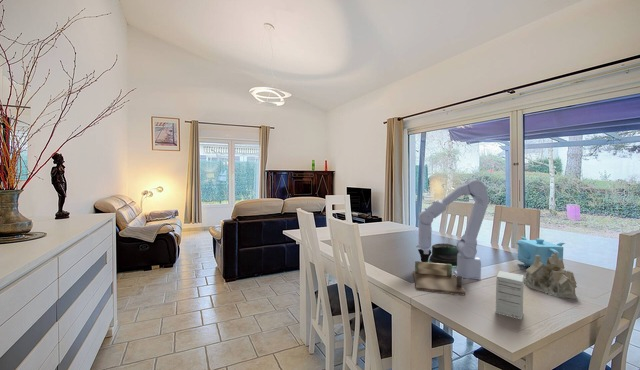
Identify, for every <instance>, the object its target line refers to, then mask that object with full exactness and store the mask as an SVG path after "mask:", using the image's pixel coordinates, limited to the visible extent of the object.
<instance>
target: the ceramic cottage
mask: <svg viewBox="0 0 640 370" xmlns="http://www.w3.org/2000/svg"><path fill="white" fill-rule="evenodd" d="M546 265H547V266H545V265H544V264H543V263H541V256H539V255H535V260H534V263H533V264H532V265H531V266H530V267H528V268H527V269H525V271H526V273H525V276H524V286H527V288H531V289H533V290H536V291H539V292H542V293H544V292H545V293H546V294H547V293H548V294H547V295H550V294H551V296H554V297H556V296H557V297H558V298H561V299H562V298H567V299H571V300H573V299H577V293H576V288H578V284H577V281H576V278H575V276H574V272H573V271H570V270H566V269H565V263H564V259H563V260H562V259H559V258H558V254H557V252H554V254H552V255H551V257H548V259H547V263H546Z"/></svg>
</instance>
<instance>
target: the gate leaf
mask: <svg viewBox="0 0 640 370" xmlns="http://www.w3.org/2000/svg"><path fill="white" fill-rule="evenodd" d="M429 262H430V261H429ZM429 262H421V261H417V260H416V261H415V262H414V271H415V273H421V274H432V275H443V276H452V272H453V267H452V265H451V264H441V263H433V262H431V263H429Z"/></svg>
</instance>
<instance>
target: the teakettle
mask: <svg viewBox="0 0 640 370" xmlns="http://www.w3.org/2000/svg"><path fill="white" fill-rule="evenodd" d="M520 238H521V239H518V240H517V241H514V243H515V244H517V261H519V262H521V263H523V264H522V266H523V265H524V267H527V266H531V265H532V264H533V263H534V260H535V255H539V256H541V263H543V264H544V265H545V266H547V265H546V263H547V259H548V257H551V255H552V254H554V252H557V254H558V258H559V259H562V260H563V261H564V246H563V245H565V244H566V242H558V243H557V244H556V243H555V244H554V243H551V242H548V241H545V239H543V238H535V239H527V238H526V237H524V236H520Z"/></svg>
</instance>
